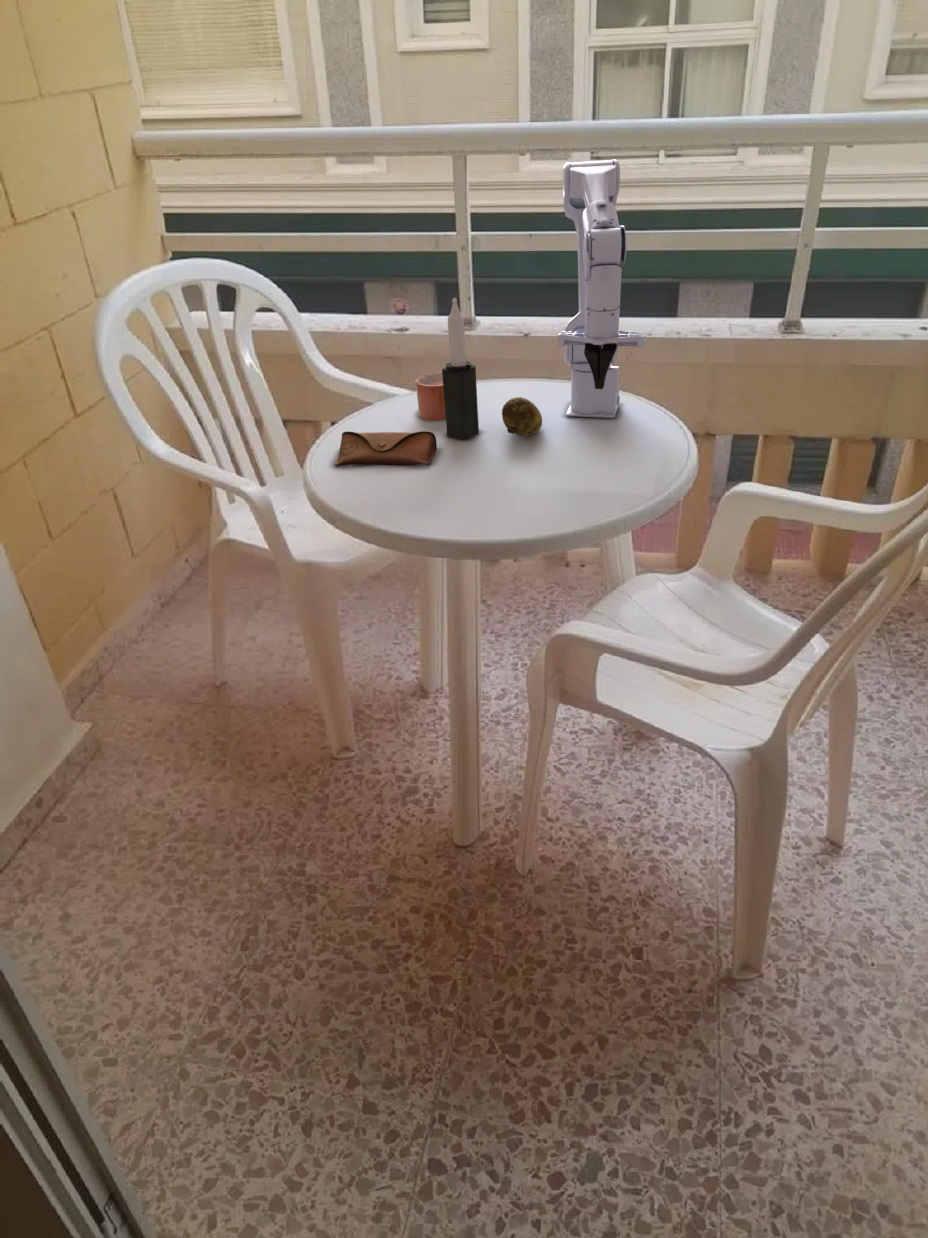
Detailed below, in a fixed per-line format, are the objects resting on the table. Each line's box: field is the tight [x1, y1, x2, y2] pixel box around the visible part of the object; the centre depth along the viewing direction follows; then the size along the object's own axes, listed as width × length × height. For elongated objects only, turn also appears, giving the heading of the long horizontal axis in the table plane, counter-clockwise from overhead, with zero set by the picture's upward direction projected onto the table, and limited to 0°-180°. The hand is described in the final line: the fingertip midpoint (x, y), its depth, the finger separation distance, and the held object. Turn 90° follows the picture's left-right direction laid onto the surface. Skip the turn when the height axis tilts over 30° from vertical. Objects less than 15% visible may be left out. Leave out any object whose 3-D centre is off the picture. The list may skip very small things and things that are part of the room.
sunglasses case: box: [334, 430, 438, 467], centre depth 150 cm, size 18×7×7 cm
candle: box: [441, 297, 480, 441], centre depth 151 cm, size 5×5×25 cm
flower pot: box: [415, 372, 446, 421], centre depth 166 cm, size 8×8×7 cm
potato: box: [501, 396, 543, 436], centre depth 153 cm, size 8×13×8 cm, turn 150°
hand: (599, 387), depth 145 cm, fingers closed
